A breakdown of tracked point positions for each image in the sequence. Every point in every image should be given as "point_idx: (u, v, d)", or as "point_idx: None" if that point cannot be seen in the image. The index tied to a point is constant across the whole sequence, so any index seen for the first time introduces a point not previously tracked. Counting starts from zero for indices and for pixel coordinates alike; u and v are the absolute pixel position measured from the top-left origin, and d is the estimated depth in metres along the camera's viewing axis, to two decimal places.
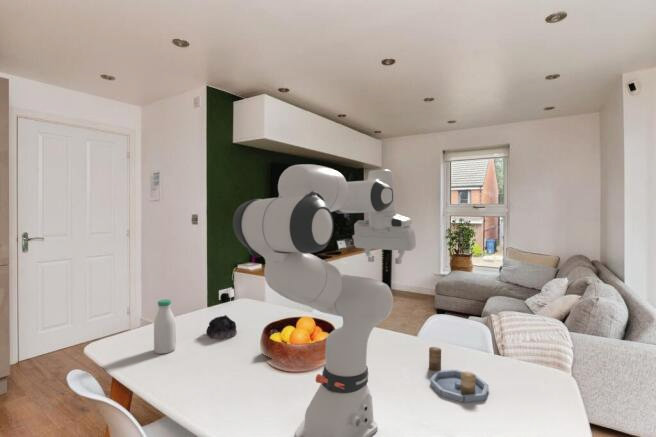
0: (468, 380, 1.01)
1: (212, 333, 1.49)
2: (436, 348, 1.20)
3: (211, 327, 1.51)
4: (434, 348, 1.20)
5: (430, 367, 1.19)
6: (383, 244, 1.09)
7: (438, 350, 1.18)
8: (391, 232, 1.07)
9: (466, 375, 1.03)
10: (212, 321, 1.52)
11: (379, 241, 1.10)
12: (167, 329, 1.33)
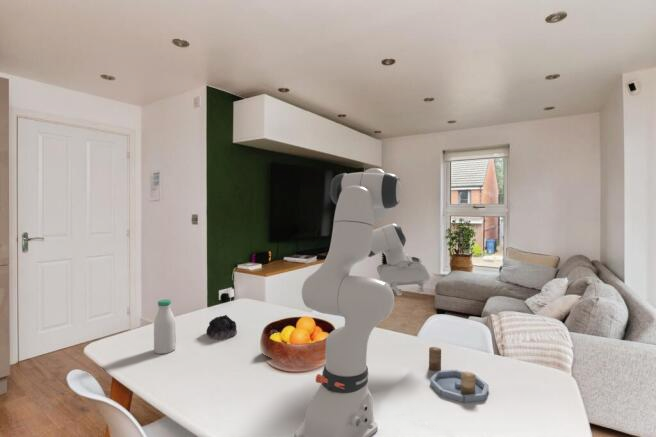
0: (468, 380, 1.01)
1: (212, 333, 1.49)
2: (436, 348, 1.20)
3: (211, 327, 1.51)
4: (434, 348, 1.20)
5: (430, 367, 1.19)
6: (408, 277, 1.34)
7: (438, 350, 1.18)
8: (411, 268, 1.37)
9: (466, 375, 1.03)
10: (212, 321, 1.53)
11: (404, 275, 1.34)
12: (167, 329, 1.33)
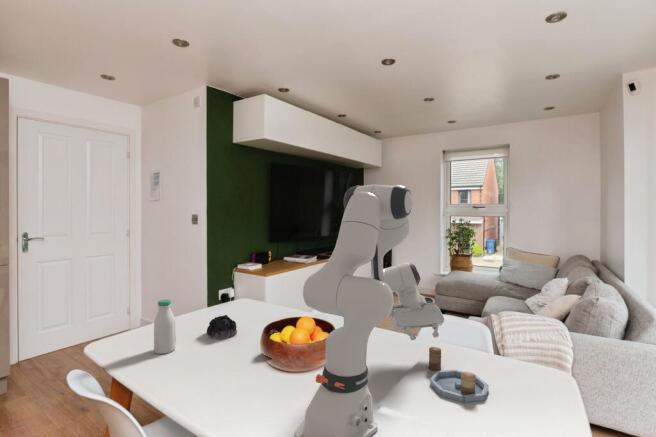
0: (468, 380, 1.01)
1: (212, 333, 1.49)
2: (436, 348, 1.20)
3: (211, 327, 1.52)
4: (434, 348, 1.20)
5: (430, 367, 1.19)
6: (422, 319, 1.29)
7: (438, 350, 1.18)
8: (425, 309, 1.32)
9: (466, 375, 1.03)
10: (212, 321, 1.53)
11: (418, 318, 1.29)
12: (167, 329, 1.33)
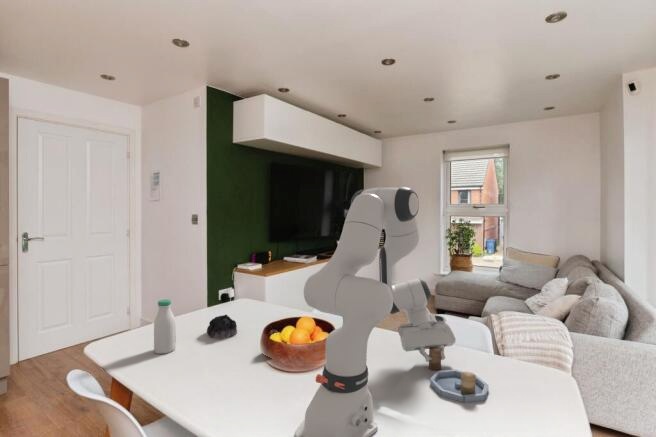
0: (468, 380, 1.01)
1: (213, 332, 1.50)
2: (436, 348, 1.20)
3: (212, 326, 1.52)
4: (434, 348, 1.20)
5: (430, 367, 1.19)
6: (433, 340, 1.22)
7: (438, 350, 1.18)
8: (435, 329, 1.26)
9: (466, 375, 1.03)
10: (212, 320, 1.53)
11: (428, 338, 1.22)
12: (167, 329, 1.33)
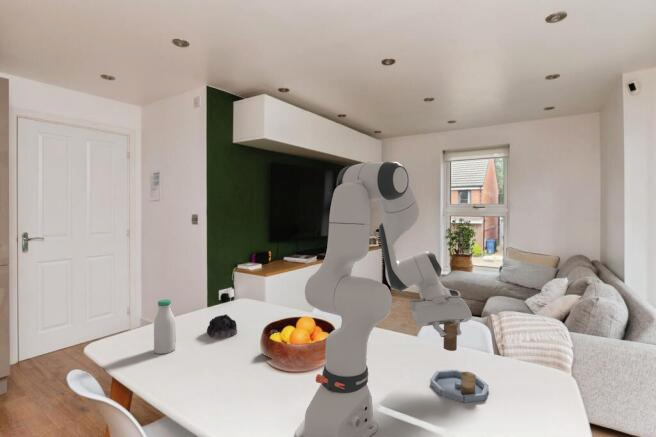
0: (468, 380, 1.01)
1: (213, 332, 1.50)
2: (451, 323, 1.12)
3: (212, 326, 1.52)
4: (449, 323, 1.12)
5: (445, 343, 1.10)
6: (447, 314, 1.14)
7: (453, 325, 1.10)
8: (450, 303, 1.17)
9: (466, 375, 1.03)
10: (212, 320, 1.54)
11: (442, 312, 1.14)
12: (167, 329, 1.33)
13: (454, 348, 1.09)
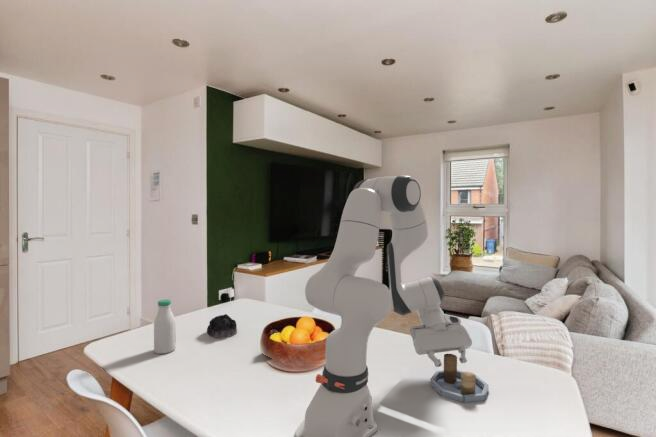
0: (468, 380, 1.01)
1: (213, 332, 1.50)
2: (451, 355, 1.12)
3: (212, 326, 1.53)
4: (449, 355, 1.12)
5: (445, 376, 1.11)
6: (448, 342, 1.14)
7: (453, 358, 1.10)
8: (450, 330, 1.17)
9: (466, 375, 1.03)
10: (212, 320, 1.54)
11: (443, 340, 1.14)
12: (167, 329, 1.33)
13: (454, 381, 1.10)
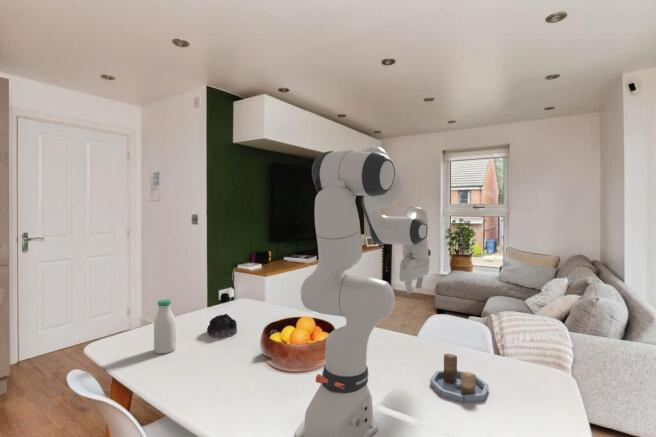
0: (468, 380, 1.01)
1: (213, 331, 1.51)
2: (451, 355, 1.12)
3: (212, 326, 1.53)
4: (449, 355, 1.12)
5: (445, 376, 1.11)
6: (420, 273, 1.24)
7: (453, 358, 1.10)
8: (423, 261, 1.26)
9: (466, 375, 1.03)
10: (213, 320, 1.54)
11: (418, 271, 1.22)
12: (167, 329, 1.33)
13: (454, 381, 1.10)
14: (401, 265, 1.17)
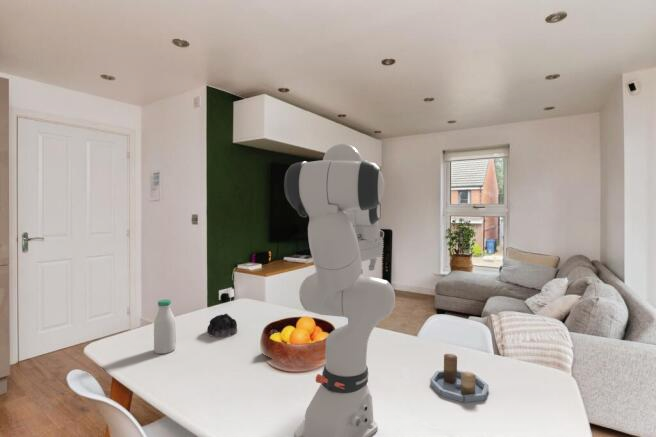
0: (468, 380, 1.01)
1: (213, 331, 1.51)
2: (451, 355, 1.12)
3: (212, 325, 1.53)
4: (449, 355, 1.12)
5: (445, 376, 1.11)
6: (371, 255, 1.22)
7: (453, 358, 1.10)
8: (375, 243, 1.24)
9: (466, 375, 1.03)
10: (213, 319, 1.55)
11: (369, 252, 1.21)
12: (167, 329, 1.33)
13: (454, 381, 1.10)
14: None
